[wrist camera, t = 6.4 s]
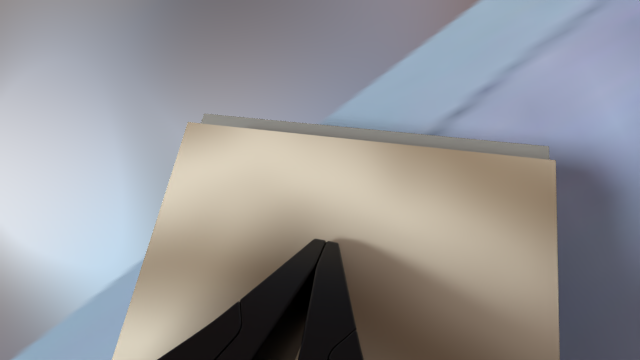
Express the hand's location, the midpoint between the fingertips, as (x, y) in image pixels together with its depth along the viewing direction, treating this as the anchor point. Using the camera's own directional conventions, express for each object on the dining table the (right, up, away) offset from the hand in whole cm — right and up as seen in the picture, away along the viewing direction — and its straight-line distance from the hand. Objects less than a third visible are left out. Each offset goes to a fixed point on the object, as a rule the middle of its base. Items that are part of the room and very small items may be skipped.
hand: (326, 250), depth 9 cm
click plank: (0, -3, +1) cm, 3 cm away
